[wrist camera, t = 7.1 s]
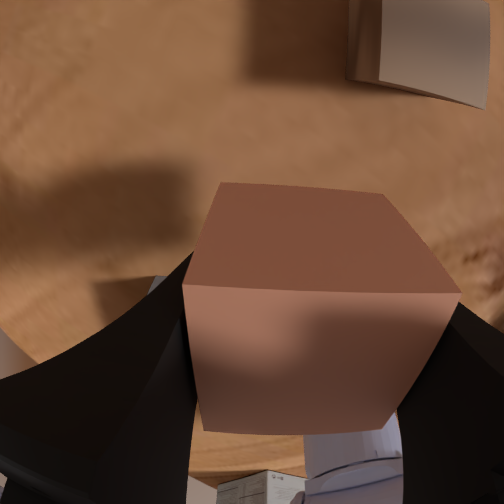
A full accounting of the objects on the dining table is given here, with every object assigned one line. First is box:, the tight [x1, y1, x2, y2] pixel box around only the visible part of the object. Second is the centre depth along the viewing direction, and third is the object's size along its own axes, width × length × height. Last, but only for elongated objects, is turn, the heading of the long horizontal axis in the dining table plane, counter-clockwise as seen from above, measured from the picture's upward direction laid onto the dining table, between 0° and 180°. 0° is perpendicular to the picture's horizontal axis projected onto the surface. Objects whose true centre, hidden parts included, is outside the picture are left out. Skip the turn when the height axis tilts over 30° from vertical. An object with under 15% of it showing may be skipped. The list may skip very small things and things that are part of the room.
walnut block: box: [345, 0, 490, 110], centre depth 10 cm, size 5×5×5 cm
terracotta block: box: [182, 183, 462, 435], centre depth 8 cm, size 5×5×5 cm
